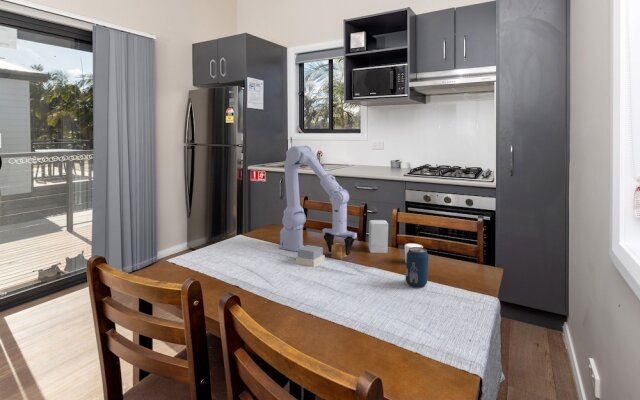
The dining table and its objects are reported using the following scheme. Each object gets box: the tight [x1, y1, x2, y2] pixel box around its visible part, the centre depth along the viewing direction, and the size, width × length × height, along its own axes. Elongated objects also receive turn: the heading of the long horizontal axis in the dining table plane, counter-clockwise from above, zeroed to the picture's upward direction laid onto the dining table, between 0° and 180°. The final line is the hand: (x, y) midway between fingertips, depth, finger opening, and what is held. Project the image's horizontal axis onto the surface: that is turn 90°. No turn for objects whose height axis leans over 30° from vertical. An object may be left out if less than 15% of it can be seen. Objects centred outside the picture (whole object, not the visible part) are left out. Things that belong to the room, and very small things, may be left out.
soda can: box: [405, 247, 429, 289], centre depth 128 cm, size 7×7×12 cm
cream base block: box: [295, 254, 326, 268], centre depth 151 cm, size 8×8×3 cm
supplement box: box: [367, 219, 389, 254], centre depth 166 cm, size 7×7×13 cm
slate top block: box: [297, 244, 324, 260], centre depth 151 cm, size 7×7×3 cm
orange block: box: [331, 242, 348, 260], centre depth 158 cm, size 4×4×5 cm
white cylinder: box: [404, 242, 424, 264], centre depth 151 cm, size 7×7×7 cm
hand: (339, 253), depth 159 cm, fingers open, 7 cm apart
